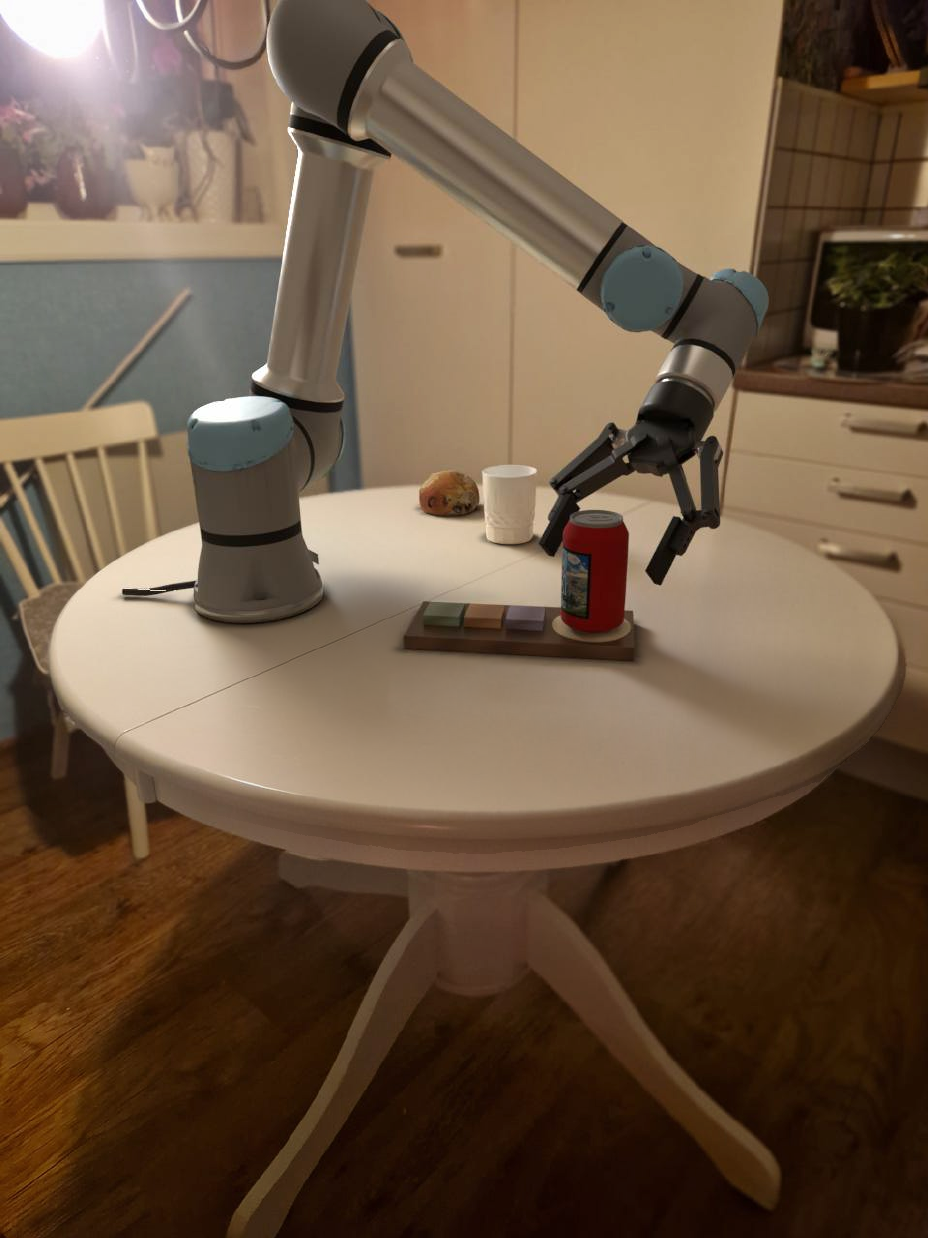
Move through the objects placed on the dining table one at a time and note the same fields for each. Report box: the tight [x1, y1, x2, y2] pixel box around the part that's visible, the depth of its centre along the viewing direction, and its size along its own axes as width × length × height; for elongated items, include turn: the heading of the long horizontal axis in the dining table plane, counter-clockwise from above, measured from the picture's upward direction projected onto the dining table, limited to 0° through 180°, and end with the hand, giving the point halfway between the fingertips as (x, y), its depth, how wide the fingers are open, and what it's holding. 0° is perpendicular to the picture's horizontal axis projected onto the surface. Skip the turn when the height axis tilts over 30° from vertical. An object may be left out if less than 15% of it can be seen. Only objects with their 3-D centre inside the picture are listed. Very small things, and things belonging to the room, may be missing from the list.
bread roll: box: [418, 469, 481, 517], centre depth 142 cm, size 10×10×8 cm
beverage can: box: [560, 509, 630, 634], centre depth 90 cm, size 7×7×12 cm
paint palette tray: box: [403, 600, 636, 662], centre depth 94 cm, size 24×10×3 cm, turn 81°
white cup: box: [481, 464, 538, 545], centre depth 125 cm, size 8×8×10 cm
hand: (596, 564), depth 90 cm, fingers open, 13 cm apart
